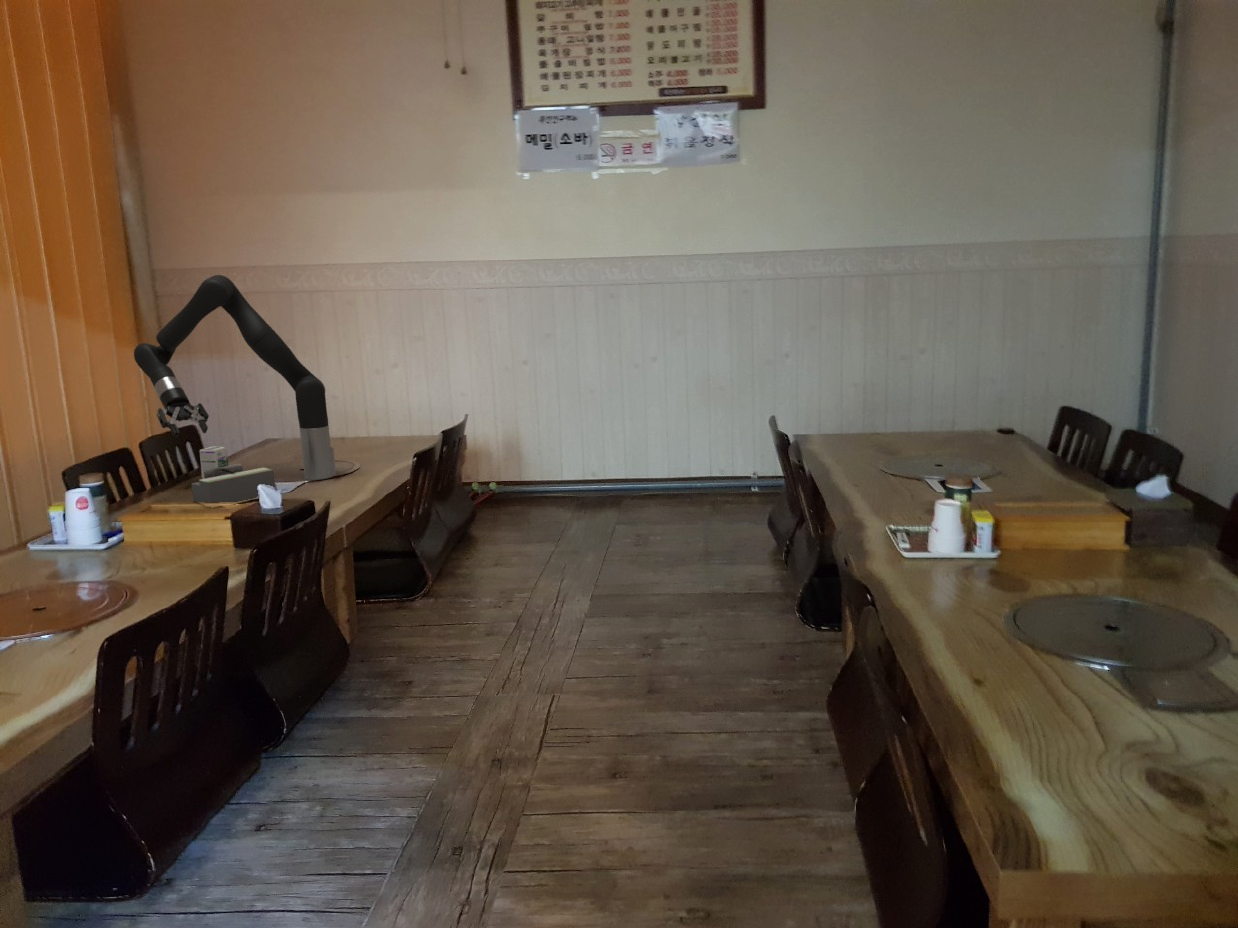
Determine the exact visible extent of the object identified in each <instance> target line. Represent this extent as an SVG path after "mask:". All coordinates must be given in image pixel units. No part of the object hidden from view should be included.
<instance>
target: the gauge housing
mask: <svg viewBox="0 0 1238 928" xmlns="http://www.w3.org/2000/svg"><path fill="white" fill-rule="evenodd" d="M259 484H265V485H270V486H273V487H275V488H276V481H275V471H274V469H273V468H268V467H260V468H259V467H258V468H253V469H250V470H243V472H238V473H232V474H227V475H222V476H217V477H212V478H206V479H202V478H201V479H198V481H196V482H192V483H191V490H192V491H191V492H192V499H193V502H194V501H195V502H194V503H196V502H205V503H219V502H238V501H243V500H248V499H253V498H256V497H257V496H258V490H257V486H258V485H259Z"/></svg>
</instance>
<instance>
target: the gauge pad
mask: <svg viewBox="0 0 1238 928" xmlns="http://www.w3.org/2000/svg"><path fill="white" fill-rule="evenodd" d="M243 469H244V467H243V464H242V463H239V462H238V463H234V464H228V466H223V467H217V468H212V469H207V470H201V471H200V472H201V479H206V478H212V477H217V476H222V475H227V474H232V473H238V472H243V471H244V470H243Z"/></svg>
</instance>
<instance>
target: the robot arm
mask: <svg viewBox="0 0 1238 928" xmlns="http://www.w3.org/2000/svg"><path fill="white" fill-rule="evenodd" d="M220 307H221V308H222V309H223V310H224V311H225V312H226V313H227V314H228V315H229V316H230V317H231V318H232V319H233V320H234V323H235V324H236V326H237V328H238V330H239V332H240V334H241V337H243V339H244V342H245V343H246V344H247V345H248V347H249V348H250V349H251V350H252V351H253V352H254V353H255V354H256V355H257V357H259V359H261V360H262V362H264V363H265V364H267V365H268V366H269V367H270V368H271V369H272V370H274V371H276V372H277V373H278V374H280V375H281V377H282V378H284V380H285V381H286V382H287V383H288V384H289V386H290V387H291V388H292V390H293V391H294V393H295V402H296V403H295V405H296V412H297V420H298V425H299V434H300V435H299V436H300V444H301V453H302V455H301V456H302V464H303V471H304V473H303V475H304V479H305V480H309V481H310V480H311V481H316V480H317V481H318V480H320V481H321V480H325V479H329V478H333V477H335V476H337V470H336V460H335V449H334V448H333V446H331V445H332V444H331V434H330V426H329V417H328V411H327V410H328V409H327V402H326V400H327V399H326V386H325V385H324V383H323V382H322V380H320V379H319V378H318V377H317V376H316V375H314V374H313V372H311V371H310V370H309V369H308V368H307V367H306V366H304V364H303V363H302V362H301V361H300V360H299V358H297V357H296V355H295V354H294V353H293V351H292V350H291V348H290V347H289V346H288V345H287V343H286V342H285V341H284V340H283V338H282V337H281V336H280V335H278V333H277V332H276V331H275V329H273V327H272V326H271V325H269V324H268V323H267V321H266V320H265V319H264V318H263V317H262V316H261V315H260V314H259V313H258V312H257V311H256V309H254V308H253V307H252V305H251V304H250V303H249V302H248V301H247V300H246V298H245V297H244V296H243V294H242V293H241V291H240V290H239V288H238V287H237V286H236V285H235V284H234V282H233V281H232V280H231V279H230V278H229V277H227V276H225V275H222V274H215V275H212V276H210V277H208V278H206V279H205V280H203V281H202V282H201V284H200V285H199V287H198V288H197V290H196V291H195V293H194V294H193V296H192V297H191V299H190V300H189V301H188V302H187V304H186V305H185V306H184V307H183V308H182V309H181V310H180V311H179V312H178V313H177V314H176V315H175V316H174V317H173V318H172V319H170V321H168V322H167V323H166V324H165V325H164V326H163V327H162V328H161V329H160V330H159V332H158V333H157V334H156V336H155V340H156V341H157V343H158V346H156V345H154V344H150V343H145V342H143V343H139V344H137V345H136V346H135V348H134V350H133V358H134V362H135V363H136V364H137V366H138V367H139V368H140V369H141V371H142V372H143V373H144V375H146V376H147V377H148V378H149V379H150V382H151V383H152V385H153V387H154V389H155V391H156V393H155V394H156V396H157V397H158V399H159V400H160V402H161V404H162V406H163V408H164V409H162V408H158V409H157V413H156V418H158V421H159V423H160V424H159V425H160V426H161V428H163V429H166V428H168V429H169V430H170V432H171V434H172V435H173V436H174V437H176V438H179V437H180V435H181V432H180V429H179V428H178V426H177V424H176V421H178V422H181V421H191V422H193V423H194V422H195V423H197V424H198V427H199V428H200V430H201V432H202V433H203V434H207V431H208V429H209V427H208V425H207V422H208V420H209V416H210V415H209V414H208V412H207V410H206V409H205V407H204V406H203V404H202V403H200V402H199V403H197V405H192V404H191V402H190V400H189V397H188V395H187V394H186V392H185V390H184V388H183V386H182V385H181V383H180V381H178V379H177V377H176V375H175V373H174V371H173V369H172V368H171V367H170V366H168V364H169V363H170V360H171V359H172V357H173V356H174V354H175V352H176V349H177V348H178V347H179V346H180V345H181V344H182V343H183V342H184V341H185V340H186V339H187V338H188V337H189V336H190V335H191V333H192V332H193V331H195V328H196V327H197V325H199V323H200V322H202V320H203V319H204V318H205V317H206V316H208V315H209V314H211V313H212V312H213V311H216V309H218V308H220ZM166 415H167V416H168V417H170V418H171V419H170V421H168V420H167V417H166Z"/></svg>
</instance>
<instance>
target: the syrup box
mask: <svg viewBox="0 0 1238 928" xmlns="http://www.w3.org/2000/svg"><path fill="white" fill-rule="evenodd" d="M228 456H229V455H228V448H227V447H226V446H221V445H220V446H218V445H217V446H215V445H214V446H209V447H206V448H201V449H199V458H200V469H201V470H207V469H212V468H217V467H223V466H228V465H229V460H228V459H229V457H228Z"/></svg>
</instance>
